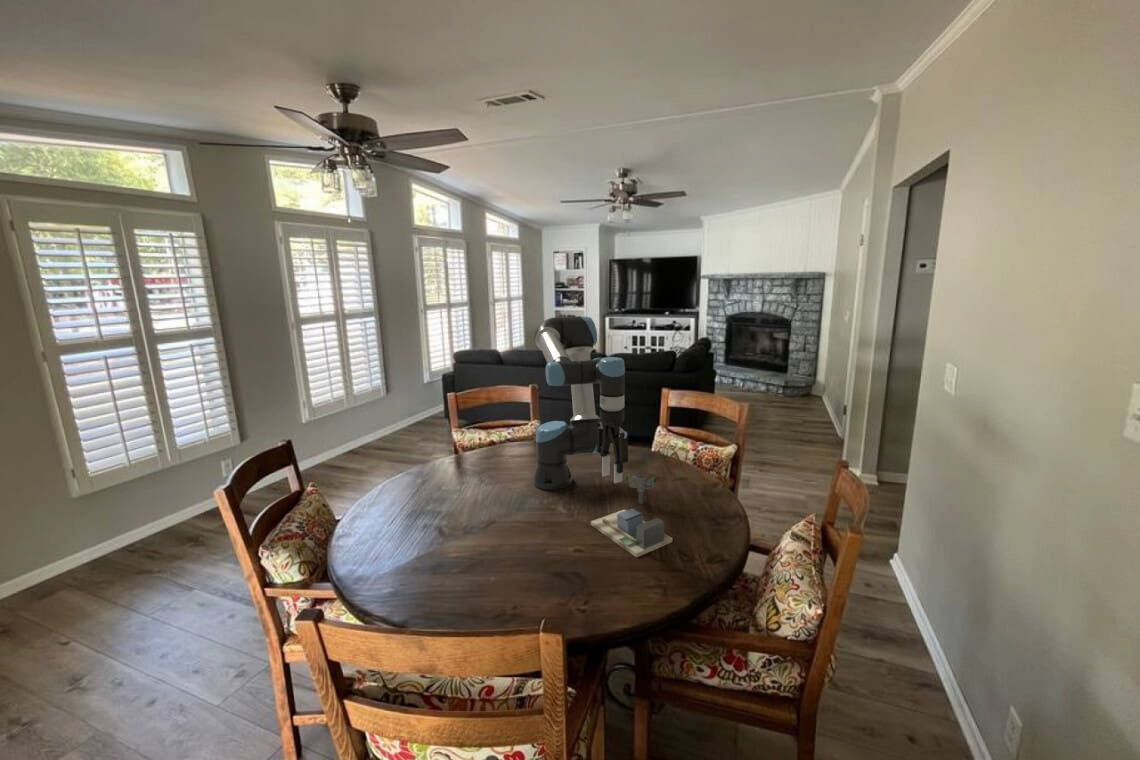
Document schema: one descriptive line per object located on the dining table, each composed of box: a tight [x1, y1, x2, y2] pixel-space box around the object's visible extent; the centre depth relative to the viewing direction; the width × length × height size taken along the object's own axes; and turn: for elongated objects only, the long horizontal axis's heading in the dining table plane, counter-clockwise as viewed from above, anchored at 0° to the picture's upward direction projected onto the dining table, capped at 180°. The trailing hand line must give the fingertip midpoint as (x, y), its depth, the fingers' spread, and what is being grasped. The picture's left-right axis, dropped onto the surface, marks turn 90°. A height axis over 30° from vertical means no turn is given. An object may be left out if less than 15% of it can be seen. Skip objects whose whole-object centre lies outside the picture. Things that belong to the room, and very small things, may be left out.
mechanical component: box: [625, 473, 657, 505], centre depth 163 cm, size 3×10×10 cm, turn 78°
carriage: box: [617, 508, 645, 535], centre depth 144 cm, size 5×7×5 cm
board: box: [590, 509, 673, 558], centre depth 144 cm, size 22×14×2 cm, turn 33°
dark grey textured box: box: [636, 517, 665, 549], centre depth 136 cm, size 3×8×6 cm, turn 123°
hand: (611, 478), depth 149 cm, fingers open, 5 cm apart
